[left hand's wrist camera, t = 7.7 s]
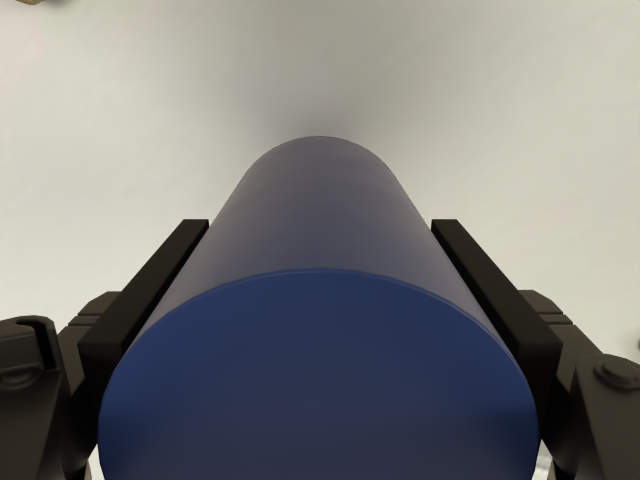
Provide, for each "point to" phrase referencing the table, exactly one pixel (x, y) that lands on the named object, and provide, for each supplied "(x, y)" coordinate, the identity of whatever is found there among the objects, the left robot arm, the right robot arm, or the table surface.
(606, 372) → the left robot arm
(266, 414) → the canister
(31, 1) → the sculpture
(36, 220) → the table surface
